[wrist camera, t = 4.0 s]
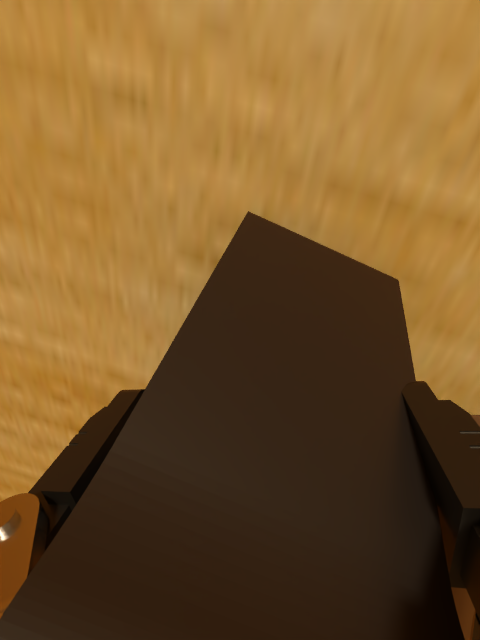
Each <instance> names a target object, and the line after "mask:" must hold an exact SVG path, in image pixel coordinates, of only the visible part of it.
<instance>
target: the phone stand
mask: <svg viewBox="0 0 480 640" xmlns="http://www.w3.org/2000/svg"><path fill="white" fill-rule="evenodd" d="M415 381H416V380H415V374H414V368H413V362H412V356H411V350H410V345H409V339H408V333H407V327H406V321H405V315H404V310H403V304H402V298H401V292H400V286H399V281H398V280H397V279H395V278H393V277H391V276H389V275H387V274H384V273H382V272H380V271H378V270H376V269H373V268H371V267H369V266H367V265H365V264H362V263H360V262H358V261H356V260H354V259H352V258H349V257H347V256H345V255H343V254H341V253H338V252H336V251H334V250H332V249H330V248H327V247H325V246H323V245H321V244H319V243H317V242H314V241H312V240H310V239H308V238H306V237H303V236H301V235H299V234H297V233H295V232H292V231H290V230H288V229H286V228H284V227H281V226H279V225H277V224H275V223H273V222H271V221H268V220H266V219H264V218H262V217H260V216H257V215H255V214H253V213H251V212H249V211H248V213H247V214H246V216H245V218H244V220H243V221H242V223H241V225H240V226H239V228H238V230H237V232H236V233H235V235H234V237H233V239H232V240H231V242H230V244H229V245H228V247H227V249H226V251H225V252H224V254H223V256H222V258H221V259H220V261H219V263H218V264H217V266H216V268H215V270H214V271H213V273H212V275H211V277H210V278H209V280H208V282H207V283H206V285H205V287H204V289H203V290H202V292H201V294H200V296H199V297H198V299H197V301H196V302H195V304H194V306H193V308H192V309H191V311H190V313H189V315H188V316H187V318H186V320H185V321H184V323H183V325H182V327H181V328H180V330H179V332H178V334H177V335H176V337H175V339H174V341H173V342H172V344H171V346H170V347H169V349H168V351H167V353H166V354H165V356H164V358H163V360H162V361H161V363H160V365H159V366H158V368H157V370H156V372H155V373H154V375H153V377H152V379H151V380H150V382H149V384H148V385H147V387H146V389H145V391H144V392H143V394H142V396H141V398H140V399H139V401H138V403H137V404H136V406H135V408H134V410H133V411H132V413H131V415H130V417H129V418H128V420H127V422H126V423H125V425H124V427H123V429H122V430H121V432H120V434H119V436H118V437H117V439H116V441H115V442H114V444H113V446H112V448H111V449H110V451H109V453H108V454H107V456H106V458H105V459H104V461H103V463H102V464H101V466H100V468H99V469H98V471H97V473H96V474H95V476H94V477H93V479H92V481H91V482H90V484H89V485H88V487H87V489H86V490H85V492H84V493H83V495H82V497H81V498H80V500H79V501H78V503H77V504H76V506H75V507H74V509H73V511H72V512H71V514H70V515H69V517H68V518H67V520H66V521H65V523H64V524H63V526H62V527H61V529H60V530H59V532H58V533H57V535H56V536H55V538H54V539H53V541H52V542H51V544H50V545H49V546H48V548H47V549H46V551H45V552H44V554H43V555H42V557H41V558H40V559H39V561H38V562H37V564H36V565H35V567H34V568H33V570H32V571H31V573H30V574H29V575H28V577H27V578H26V580H25V581H24V583H23V584H22V586H21V587H20V589H19V590H18V592H17V593H16V595H15V596H14V598H13V599H12V601H11V603H10V604H9V606H8V607H7V609H6V610H5V612H4V613H3V615H2V616H1V618H0V640H465V638H464V635H463V632H462V628H461V625H460V622H459V618H458V614H457V610H456V607H455V602H454V598H453V593H452V589H451V583H450V578H449V572H448V566H447V561H446V555H445V549H444V543H443V537H442V531H441V526H440V520H439V514H438V508H437V503H436V500H435V497H434V494H433V490H432V487H431V484H430V481H429V478H428V474H427V471H426V468H425V465H424V462H423V459H422V455H421V452H420V449H419V446H418V443H417V440H416V436H415V433H414V430H413V427H412V424H411V421H410V417H409V414H408V411H407V408H406V405H405V402H404V398H403V395H402V392H401V391H402V390H403V388H404V387H405V385H406V384H408V383H410V382H415Z"/></svg>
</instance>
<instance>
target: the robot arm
mask: <svg viewBox="0 0 480 640" xmlns="http://www.w3.org/2000/svg"><path fill="white" fill-rule="evenodd" d="M144 391H145V389H140V390H122V391H120V392H119V393H118V394H117V395H116V396H115V398H114V399H113V400H112V401H111V403H110V404H109V405H108V407H104V408H103V409H101V410H100V411H99V412H97V413H96V414H95V415H93V416H92V417H91V418H90V419H89V420H88V421H87V422H86V423H85V425H84V426H83V427H82V428H81V430H80V431H79V434H76V436H75V437H74V438H73V439H72V440H71V442H70V443H69V446H66V448H65V449H64V450H63V451H62V453H61V454H60V455H59V456H58V457H57V459H56V460H55V461H54V462H53V463H52V465H51V466H50V467H49V468H48V469H47V471H46V472H45V473H44V474H43V476H42V477H41V478H40V479H39V480H38V482H37V483H36V484H35V485H34V486H33V488H32V489H31V490H30V491H29V492H28V493H24V494H18V495H15V496H12V497H9V498H7V499H5V500H3V501H1V502H0V618H1V616H2V615H3V613H4V612H5V610H6V609H7V607H8V606H9V604H10V603H11V601H12V599H13V598H14V596H15V595H16V593H17V592H18V590H19V589H20V587H21V586H22V584H23V583H24V581H25V580H26V578H27V577H28V575H29V574H30V573H31V571H32V570H33V568H34V567H35V565H36V564H37V562H38V561H39V559H40V558H41V557H42V555H43V554H44V552H45V551H46V549H47V548H48V546H49V545H50V544H51V542H52V541H53V539H54V538H55V536H56V535H57V533H58V532H59V530H60V529H61V527H62V526H63V524H64V523H65V521H66V520H67V518H68V517H69V515H70V514H71V512H72V511H73V509H74V507H75V506H76V504H77V503H78V501H79V500H80V498H81V497H82V495H83V493H84V492H85V490H86V489H87V487H88V485H89V484H90V482H91V481H92V479H93V477H94V476H95V474H96V473H97V471H98V469H99V468H100V466H101V464H102V463H103V461H104V459H105V458H106V456H107V454H108V453H109V451H110V449H111V448H112V446H113V444H114V442H115V441H116V439H117V437H118V436H119V434H120V432H121V430H122V429H123V427H124V425H125V423H126V422H127V420H128V418H129V417H130V415H131V413H132V411H133V410H134V408H135V406H136V404H137V403H138V401H139V399H140V398H141V396H142V394H143V392H144ZM401 392H402V395H403V398H404V402H405V405H406V408H407V411H408V414H409V417H410V421H411V424H412V427H413V430H414V433H415V436H416V440H417V443H418V446H419V449H420V452H421V455H422V459H423V462H424V465H425V468H426V471H427V474H428V478H429V481H430V484H431V487H432V490H433V494H434V497H435V500H436V503H437V508H438V514H439V520H440V526H441V531H442V537H443V543H444V549H445V555H446V561H447V566H448V572H449V578H450V583H451V587H454V588H466V590H467V592H468V594H469V597H470V599H471V601H472V604H473V606H474V608H475V611H474V615H473V620H472V627H471V634H470V640H480V426H479V425H478V424H477V423H476V421H475V420H474V419H473V417H472V416H471V415H470V414H469V413H468V412H466V411H465V410H464V409H462V408H461V407H459V406H458V405H456V404H455V403H453V402H452V401H451V400H438V399H437V398H436V396H435V395H434V393H433V392H432V390H431V389H430V387H429V386H428V385H427V383H426V382H424V381H415V382H410V383H408V384H406V385H405V387H404V388H403V390H402V391H401Z"/></svg>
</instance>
